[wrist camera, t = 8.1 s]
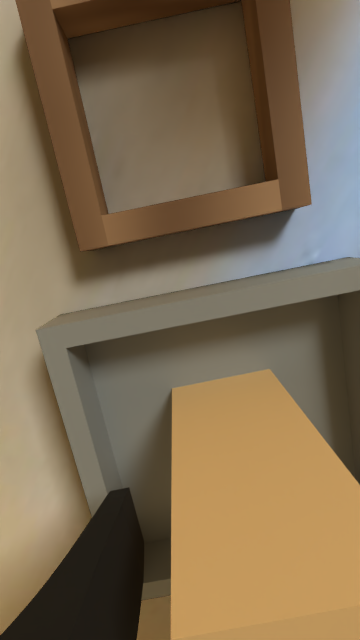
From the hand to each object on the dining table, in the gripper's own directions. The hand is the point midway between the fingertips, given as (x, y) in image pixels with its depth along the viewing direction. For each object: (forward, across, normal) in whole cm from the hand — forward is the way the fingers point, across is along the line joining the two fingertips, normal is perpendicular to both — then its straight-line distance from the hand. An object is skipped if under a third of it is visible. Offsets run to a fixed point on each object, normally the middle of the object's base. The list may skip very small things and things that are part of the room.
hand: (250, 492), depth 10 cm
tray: (+5, 0, 0) cm, 5 cm away
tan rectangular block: (+4, 0, 0) cm, 4 cm away
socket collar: (+5, 0, -12) cm, 13 cm away
